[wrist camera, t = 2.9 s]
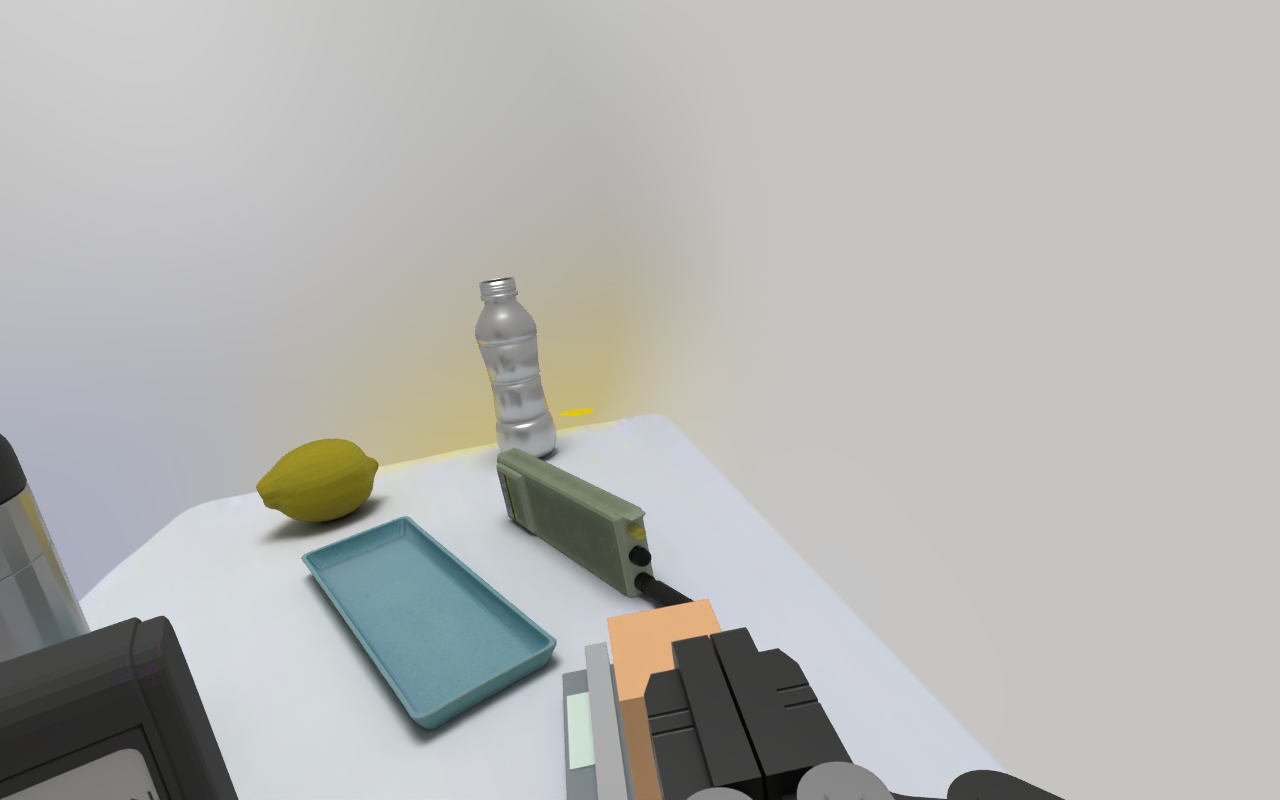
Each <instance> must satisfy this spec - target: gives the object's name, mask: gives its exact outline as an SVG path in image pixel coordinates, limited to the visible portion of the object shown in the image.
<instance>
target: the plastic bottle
mask: <svg viewBox="0 0 1280 800" xmlns="http://www.w3.org/2000/svg"><path fill="white" fill-rule="evenodd" d="M480 290H481V300H482V301H485V307H484V309H483V311H482V313H481V315H480V317H479V319H478V322H477V324H476V330H475V336H476V339H477V343H478V344H479V349H480V351H481V354H482V357H483V359H484V362H485V365H486V368H487V371H488V374H489V379H490V381H491V386H492V390H493V395H494V403H495V411H496V419H497V423H496V433H497V442H498V445H499V447H500V450H501V452H502V453H503V452H505V451H507V450H510V449H512V448H517V449H520V450H522V451H524V452H526V453H528V454H530V455H532V456H534V457H536V458H539V457H542V456H544V455H546V454H548V453H550V452H551V451H552V450H553V448H554V446H555V443H556V428H555V425H554V422H553V419H552V416H551V414H550V412H549V411H548V406H547V403H546V399H545V395H544V392H543V388H542V385H541V378H540V375H539V372H540V370H539V363H538V351H537V335H536V333H537V330H536V324H535V322H534V320H533V318H532V316H531V315H530V314H529V313H528V312H527V310H526V309H525V308H524V307H523V306H522V305H521V304H520V303H519V302H517V300H516V297H515V296H516V295H518V291H517V290H516V285H515V279H514V277H507V278H499V279H492V280H487V281H483V282H480Z"/></svg>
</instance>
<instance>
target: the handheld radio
mask: <svg viewBox="0 0 1280 800" xmlns="http://www.w3.org/2000/svg"><path fill="white" fill-rule="evenodd" d="M497 462H498V464H497V472H498V476H499V480H500V484H501V488H502V492H503V496H504V500H505V504H506V508H507V512H508V516H509V517H510V518H512V519H513V520H514V521H516V522H517V523H519V524H520V525H522V526H523V527H525V528H526V529H528V530H529V531H530V532H532V533H533V534H535V535H536V536H538V537H539V538H541V539H542V540H544V541H545V542H547V543H548V544H550V545H551V546H553V547H554V548H556V549H557V550H559V551H560V552H561V553H563V554H564V555H566V556H567V557H569V558H570V559H572V560H573V561H575V562H576V563H578V564H579V565H581V566H582V567H584V568H585V569H587V570H588V571H590V572H591V573H593V574H594V575H595V576H597V577H598V578H600V579H601V580H603V581H604V582H606V583H607V584H609V585H610V586H612V587H613V588H615V589H616V590H618V591H619V592H621V593H622V594H624V595H625V596H627V597H630V598H634V597H637V596H639V595H641V594H643V593H645V594H649V596H650V597H651V598H653V599H654V600H656V601H657V602H659V603H660V604H662V605H663V606H665V607H668V606H673V605H679V604H684V603H689V602H694V601H693V600H691V599H689V598H688V597H686V596H684V595H683V594H681V593H679V592H678V591H676V590H674V589H673V588H671V587H669V586H668V585H666V584H664V583H663V582H661V581H657V580H655V578H654V576H653V571H652V566H651V554H650V552H649V549H648V544H647V538H646V531H645V527H644V522H643V516H644V515H645V514H646V513H645V512H644V511H642V510H641V508H640V507H638V506H636V505H634V504H632V503H629V502H627V501H625V500H623V499H621V498H619V497H617V496H615V495H613V494H611V493H609V492H607V491H605V490H603V489H600V488H598V487H596V486H594V485H592V484H590V483H588V482H586V481H584V480H582V479H580V478H578V477H576V476H574V475H571V474H569V473H567V472H565V471H563V470H561V469H559V468H557V467H555V466H553V465H551V464H549V463H547V462H545V461H543V460H540V459H538V458H536V457H534V456H532V455H530V454H528V453H526V452H524V451H522V450H520V449H517V448H512V449H510V450H507V451H505V452H503V453H501V454H499V455H498V458H497Z"/></svg>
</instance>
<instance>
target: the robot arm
mask: <svg viewBox="0 0 1280 800" xmlns="http://www.w3.org/2000/svg"><path fill="white" fill-rule="evenodd" d="M90 632H91V631H90V629H89V626H88V624H87V621H86V619H85V617H84V614H83V612H82V610H81V607H80V605H79V602H78V600H77V598H76V595H75V593H74V591H73V588H72V586H71V584H70V581H69V579H68V577H67V574H66V572H65V569H64V567H63V564H62V562H61V560H60V557H59V555H58V553H57V550H56V548H55V546H54V543H53V541H52V539H51V536H50V534H49V531H48V529H47V527H46V524H45V522H44V520H43V517H42V515H41V513H40V510H39V508H38V505H37V503H36V501H35V498H34V496H33V494H32V491H31V489H30V487H29V484H28V483H27V480H26V477H25V475H24V473H23V470H22V468H21V465H20V463H19V461H18V458H17V456H16V454H15V452H14V450H13V448H12V446H11V445H10V443H9V442H8V441H7V440H6V438H5V437H4V436H2V435H1V434H0V663H1V662H4V661H7V660H10V659H13V658H16V657H19V656H22V655H25V654H28V653H31V652H34V651H37V650H40V649H43V648H46V647H48V646H51V645H54V644H57V643H60V642H63V641H66V640H69V639H72V638H75V637H78V636H81V635H84V634H87V633H90ZM671 647H672V655H673V662H674V669H673V670H668V671H663V672H658V673H653V674H651V675H650V678H649V680H648V683H647V686H646V689H645V692H644V699H645V706H646V712H647V718H648V725H649V731H650V738H651V744H652V750H653V757H654V762H655V767H656V772H657V777H658V782H659V788H660V793H661V798H662V800H1065V799H1062V798H1060V797H1058V796H1056V795H1054V794H1051V793H1049V792H1047V791H1044V790H1042V789H1040V788H1038V787H1036V786H1034V785H1031V784H1029V783H1027V782H1025V781H1023V780H1020V779H1018V778H1016V777H1013V776H1011V775H1008V774H1005V773H1002V772H998V771H991V770H976V771H970V772H967V773H964V774H962V775H960V776H959V777H957V778H956V779H955V780H954V781H953V782H952V783H951V785H950V787H949V789H948V794H947V799H938V798H925V797H912V796H904V795H900V794H896V793H892V792H890V791H889V790H888V789H887V787H886V786H885V785H884V783H883V782H882V781H881V780H880V779H879V778H878V777H877V776H876V775H875V774H873V773H872V772H870V771H869V770H867V769H865V768H863V767H861V766H858V765H855V764H853V762H852V760H851V758H850V757H849V755H848V753H847V751H846V749H845V748H844V746H843V744H842V742H841V740H840V738H839V737H838V735H837V733H836V731H835V729H834V728H833V726H832V724H831V722H830V720H829V719H828V717H827V715H826V713H825V711H824V710H823V708H822V706H821V704H820V703H818V699H817V697H816V695H815V693H814V692H813V690H812V688H811V687H810V686H809V682H808V681H807V679H806V677H805V675H804V673H803V672H802V670H801V668H800V666H799V664H798V663H797V662H796V661H794V660H793V659H792V658H790V657H789V656H788V655H786V654H785V653H784V652H782V651H781V650H780V649H778V648H777V649H772V650H767V651H762V652H758V650H757V648H756V646H755V644H754V642H753V640H752V638H751V635H750V633H749V631H748V630H747V628H746V627H744V628H739V629H734V630H729V631H724V632H719V633H714V634H710V636H709V637H708V635H703V636H698V637H693V638H688V639H683V640H678V641H673V642H671Z"/></svg>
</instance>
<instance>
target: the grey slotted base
mask: <svg viewBox="0 0 1280 800" xmlns="http://www.w3.org/2000/svg"><path fill="white" fill-rule="evenodd" d="M585 655H586V666H587V669H586V670H581V671H576V672H571V673H566V674H562V675H563V703H564V731H565V759H566V787H567V800H636V797H635V791H634V785H633V779H632V773H631V767H630V761H629V755H628V749H627V743H626V738H625V732H624V726H623V720H622V714H621V708H620V702H619V696H618V689H617V682H616V676H615V669H614V664H611V665H610V663H609V657H608V651H607V645H606V642H604V643H599V644H594V645H589V646H585Z"/></svg>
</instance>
